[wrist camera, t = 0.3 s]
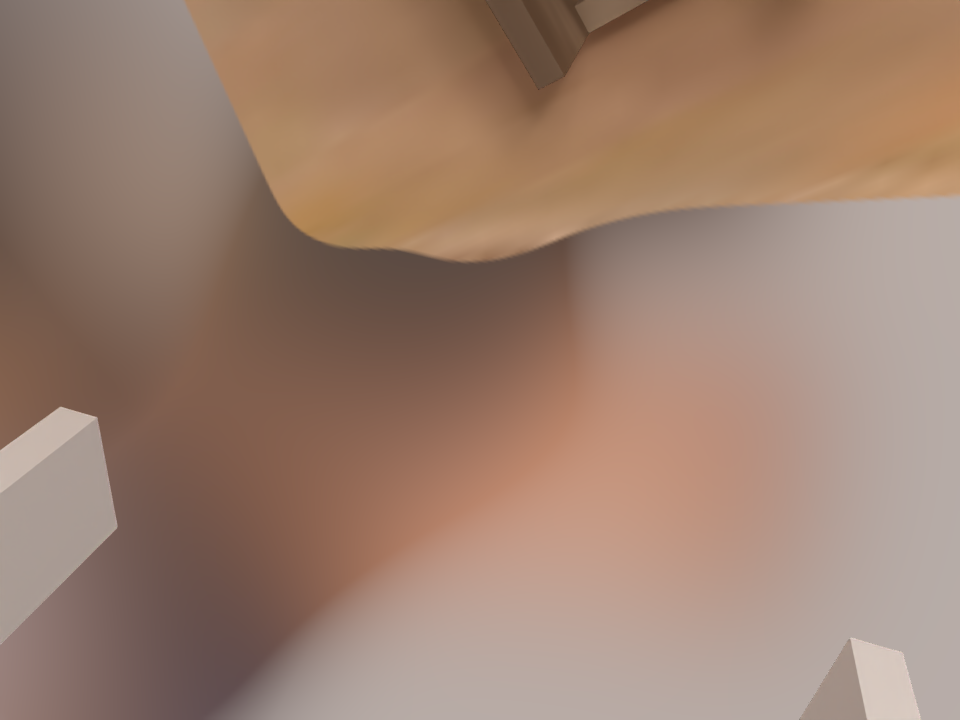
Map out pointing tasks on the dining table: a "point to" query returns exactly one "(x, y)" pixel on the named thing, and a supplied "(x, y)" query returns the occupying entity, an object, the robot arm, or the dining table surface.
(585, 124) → the dining table surface
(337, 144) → the dining table surface
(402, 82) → the dining table surface
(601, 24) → the open wooden box
